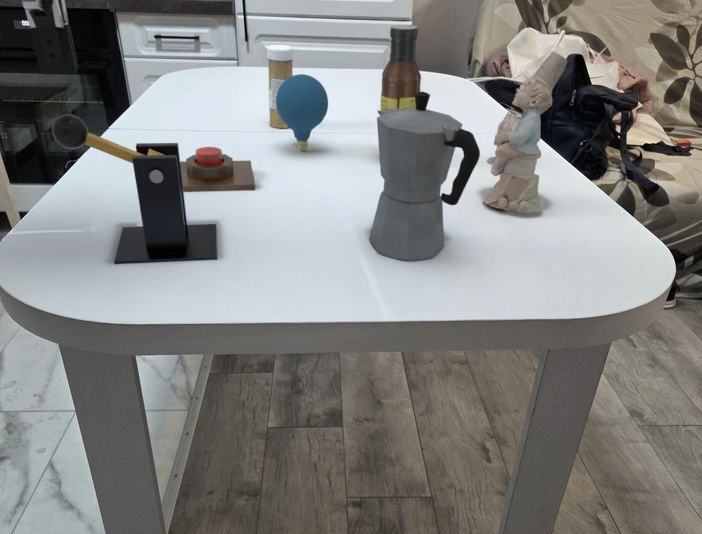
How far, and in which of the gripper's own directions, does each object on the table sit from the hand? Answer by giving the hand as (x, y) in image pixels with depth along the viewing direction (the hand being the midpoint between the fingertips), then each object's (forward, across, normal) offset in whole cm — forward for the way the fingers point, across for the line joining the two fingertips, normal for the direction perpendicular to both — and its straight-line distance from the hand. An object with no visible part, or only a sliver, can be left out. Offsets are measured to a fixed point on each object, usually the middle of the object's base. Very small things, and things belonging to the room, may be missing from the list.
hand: (60, 72), depth 60 cm
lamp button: (+16, -21, +13) cm, 30 cm away
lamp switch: (+20, 0, +8) cm, 21 cm away
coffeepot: (+20, +2, +37) cm, 42 cm away
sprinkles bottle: (+20, -50, +26) cm, 60 cm away
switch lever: (+9, 0, +3) cm, 10 cm away
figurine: (+20, -10, +55) cm, 59 cm away
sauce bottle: (+20, -30, +43) cm, 56 cm away
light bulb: (+20, -35, +28) cm, 49 cm away
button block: (+20, -21, +13) cm, 31 cm away
